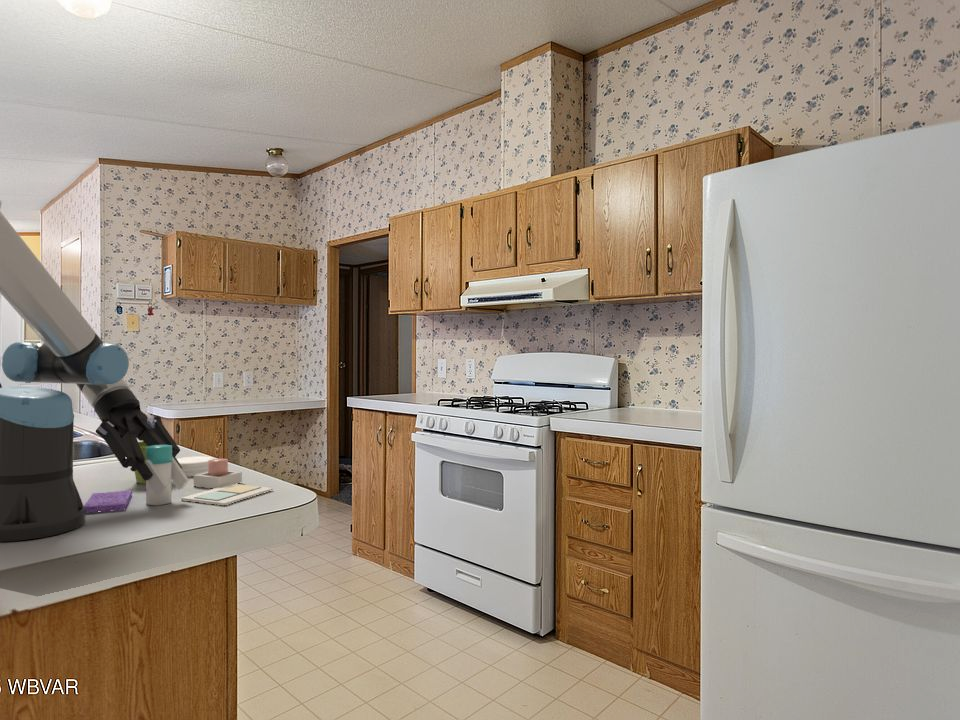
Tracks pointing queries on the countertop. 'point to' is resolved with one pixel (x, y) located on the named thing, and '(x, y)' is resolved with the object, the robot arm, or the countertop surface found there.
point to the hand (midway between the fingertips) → (173, 487)
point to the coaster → (194, 465)
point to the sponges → (108, 501)
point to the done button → (217, 467)
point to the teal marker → (163, 464)
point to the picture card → (226, 494)
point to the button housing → (217, 479)
